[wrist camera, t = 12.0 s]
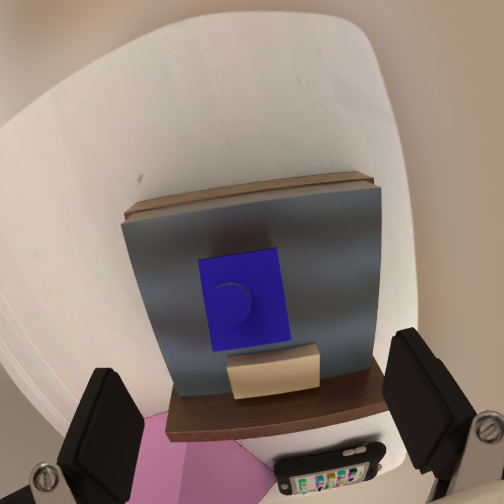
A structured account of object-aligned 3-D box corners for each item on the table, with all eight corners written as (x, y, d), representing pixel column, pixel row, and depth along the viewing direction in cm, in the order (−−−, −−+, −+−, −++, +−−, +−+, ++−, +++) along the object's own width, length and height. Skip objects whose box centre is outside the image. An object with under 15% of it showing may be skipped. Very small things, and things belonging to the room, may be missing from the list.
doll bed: (136, 202, 21) (82, 247, 13) (357, 171, 21) (424, 198, 13) (183, 363, 27) (170, 442, 18) (356, 338, 27) (392, 409, 18)
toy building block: (271, 256, 19) (282, 238, 11) (282, 324, 18) (300, 356, 11) (213, 265, 19) (182, 254, 11) (224, 333, 19) (201, 369, 11)
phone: (270, 454, 34) (274, 482, 30) (382, 428, 33) (393, 453, 29) (279, 483, 38) (282, 506, 34) (373, 461, 37) (381, 483, 33)
